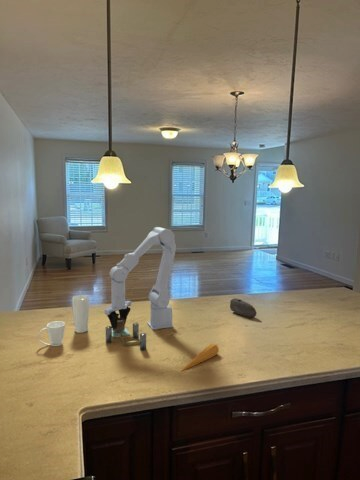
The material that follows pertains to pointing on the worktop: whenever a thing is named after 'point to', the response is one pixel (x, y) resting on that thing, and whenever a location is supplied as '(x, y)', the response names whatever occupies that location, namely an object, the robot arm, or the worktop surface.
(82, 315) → the drinking glass
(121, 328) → the octagonal hollow tube
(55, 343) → the cup
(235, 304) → the perforated stone tool
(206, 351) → the carrot
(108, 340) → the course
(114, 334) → the pad
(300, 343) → the worktop surface
